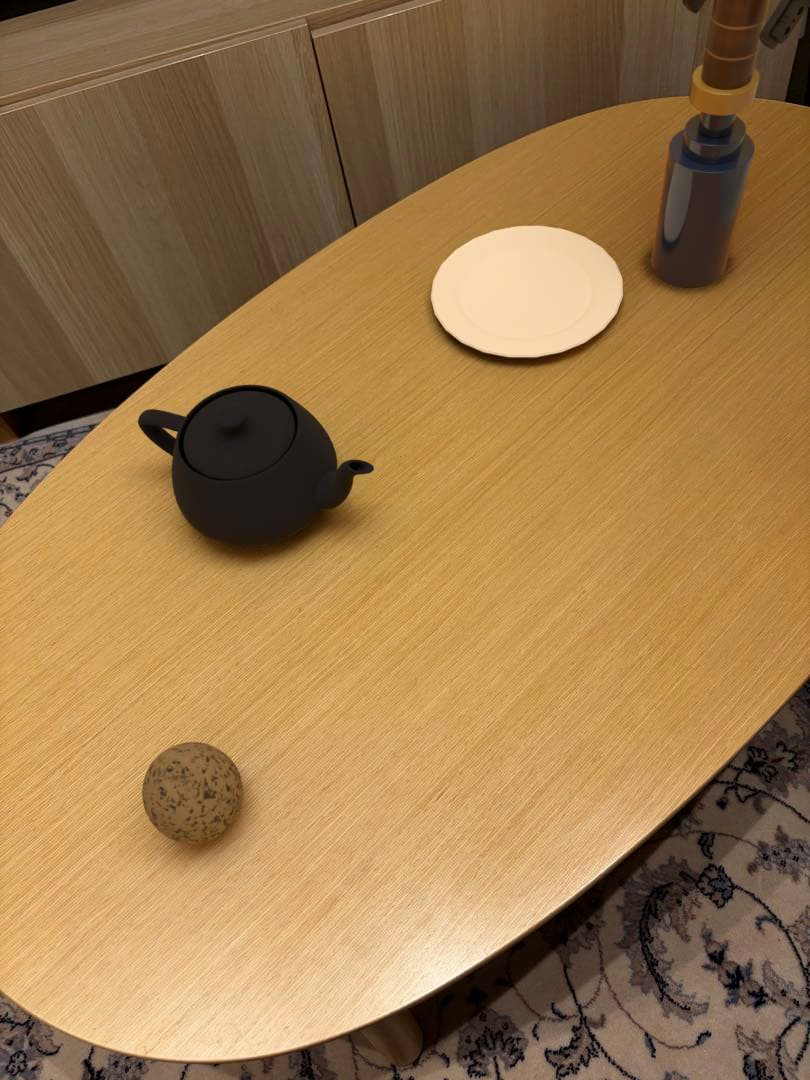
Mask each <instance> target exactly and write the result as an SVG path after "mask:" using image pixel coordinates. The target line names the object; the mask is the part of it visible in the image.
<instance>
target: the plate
mask: <svg viewBox="0 0 810 1080" xmlns="http://www.w3.org/2000/svg"><path fill="white" fill-rule="evenodd" d="M623 283H624V281H623V276H622V274H621V271H620V269H619V267H618V264H617V262H616V261H615V260H614V259H613V258H612V256H610V254H609V253H608V252H607V251H606V250H605V248H603V247H602V246H600V245H599V244H597V243H596V242H594V241H592V240H591V239H590V238H588V237H586V236H585V235H584V236H583V235H582V234H578V233H575V232H573V231H570V230H567V229H565V228H558V227H552V226H545V225H517V226H511V227H505V228H500V229H495V230H492V231H490V232H487V233H484V234H482V235H479V236H477V237H473V238H472V239H471V240H469V241H467V242H466V243H463V245H461V246H460V247H458V248H456V249H455V250H454V251H453V252H452V253H451V254H450V255H449V256H448V257H447V258H446V259H445V260H444V261H443V262H442V263H441V264H440V266H439V268H438V270H437V272H436V274H435V276H434V278H433V280H432V286H431V292H430V300H431V304H432V309H433V313H434V316H435V318H436V319H437V320H438V323H440V325H441V327H442V328H443V330H444V331H445V332H446V333H448V334H449V335H450V336H451V337H453V338H454V339H455V340H456V341H458V342H459V343H460V344H462V345H464V346H467V348H468V347H469V348H470V349H473V350H475V351H478V352H480V353H482V354H486V355H490V356H495V357H500V358H505V359H538V358H544V357H548V356H550V357H551V356H554V355H560V354H564V353H565V352H568V351H571V350H573V349H575V348H578V347H580V346H583V345H585V344H587V343H588V342H589V341H591V340H592V339H593V338H595V337H597V336H598V335H599V334H600V333H603V331H605V329H606V328H607V327H608V325H609V324H610V323H611V322H612V321H613V319H614V318H615V317H616V316H617V314H618V311H619V309H620V306H621V303H622V301H623V298H624V285H623Z"/></svg>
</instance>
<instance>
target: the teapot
mask: <svg viewBox="0 0 810 1080" xmlns="http://www.w3.org/2000/svg"><path fill="white" fill-rule="evenodd" d="M137 424H138V427H139V429H140V430H141V432H142V433H143V434H144V435H145V436H146V437H147V438H148V439H149V440H150V441H151V442H152V443H153V444H154V445H156V446H157V447H159V448H160V449H161V450H162V451H164V452H165V453H167V454H168V455H170V456H171V457H172V461H171V484H172V490H173V495H174V498H175V502H176V504H177V506H178V508H179V510H180V512H181V514H182V516H183V517H184V518H185V520H186V521H187V522H188V524H189V525H190V526H191V527H192V528H193V529H195V530H196V532H199V533H200V534H201V535H203V536H204V537H206V538H208V539H210V540H212V541H214V542H217V543H220V544H223V545H227V546H233V547H240V548H241V547H242V548H253V547H263V546H267V545H271V544H272V545H273V544H276V543H279V542H281V541H283V540H286V539H288V538H290V537H293V536H294V535H295V534H298V533H299V532H301V531H302V530H304V529H305V528H307V526H309V525H310V524H311V523H312V522H313V521H314V520H315V519H316V518H317V517H319V515H320V514H321V512H322V511H325V510H326V511H327V510H332V509H335V508H337V507H339V506H341V505H342V504H343V503H344V502H345V501H346V500H347V499H348V496H349V495H350V493H351V491H352V489H353V485H354V477H356V476H359V475H368V474H371V473H373V472H374V471H375V467H374V465H373V464H371V463H370V462H368V461H366V460H362V459H348V460H345V461H343V462H342V463H341V464H340V465H339V466H338V457H337V452H336V448H335V446H334V444H333V441H332V439H331V437H330V435H329V433H328V432H327V430H326V429H325V427H324V426H323V424H321V422H320V421H319V420H318V419H317V418H316V417H315V416H314V415H313V414H312V413H311V412H310V411H309V410H308V409H307V408H305V407H304V405H301V404H300V403H299V402H298V401H297V400H295V399H293V398H292V397H291V396H289V395H288V394H286V393H284V392H283V391H281V390H279V389H277V388H274V387H270V386H267V385H261V384H240V385H233V386H230V387H226V388H223V389H220V390H218V391H215V392H214V393H212V394H210V395H208V396H207V397H204V398H203V399H202V400H201V401H199V402H198V403H197V404H196V405H194V407H192V408H191V409H190V411H189V412H188V413H187V414H186V415H182V414H178V413H174V412H170V411H167V410H162V409H157V408H156V409H155V408H149V409H146V410H144V411H142V412H141V413H140V414H139V416H138V418H137ZM167 430H169V431H173V432H177V433H176V435H175V437H174V436H173V435H172V434H171V433H169V432H168V431H167Z"/></svg>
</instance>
